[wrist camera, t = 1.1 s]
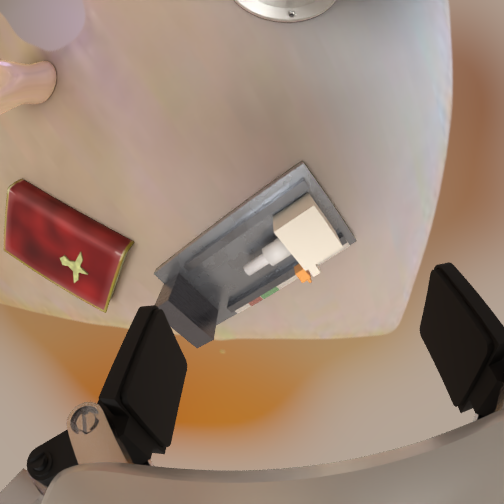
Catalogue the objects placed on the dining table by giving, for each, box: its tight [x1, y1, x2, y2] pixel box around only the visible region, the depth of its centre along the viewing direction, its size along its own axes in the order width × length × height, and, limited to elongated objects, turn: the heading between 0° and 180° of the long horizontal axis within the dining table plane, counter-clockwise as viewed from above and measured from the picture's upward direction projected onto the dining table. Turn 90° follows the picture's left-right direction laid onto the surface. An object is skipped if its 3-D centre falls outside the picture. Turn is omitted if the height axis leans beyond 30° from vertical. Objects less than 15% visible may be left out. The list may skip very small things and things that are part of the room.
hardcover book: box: [4, 179, 134, 313], centre depth 37 cm, size 12×21×4 cm, turn 60°
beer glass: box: [0, 60, 56, 115], centre depth 20 cm, size 7×7×15 cm
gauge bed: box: [154, 161, 356, 348], centre depth 36 cm, size 24×12×7 cm, turn 128°
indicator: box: [294, 264, 312, 283], centre depth 36 cm, size 1×3×2 cm, turn 38°
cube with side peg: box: [243, 193, 343, 276], centre depth 35 cm, size 11×8×4 cm
